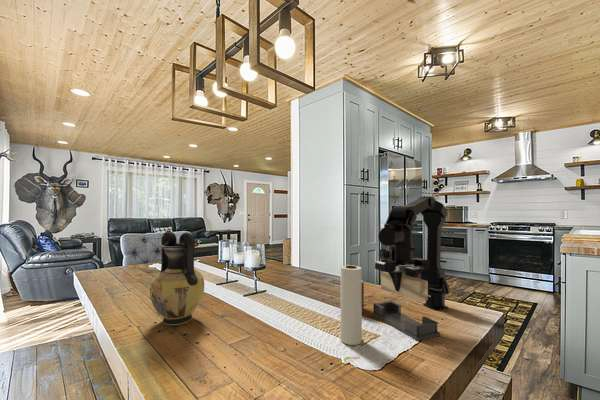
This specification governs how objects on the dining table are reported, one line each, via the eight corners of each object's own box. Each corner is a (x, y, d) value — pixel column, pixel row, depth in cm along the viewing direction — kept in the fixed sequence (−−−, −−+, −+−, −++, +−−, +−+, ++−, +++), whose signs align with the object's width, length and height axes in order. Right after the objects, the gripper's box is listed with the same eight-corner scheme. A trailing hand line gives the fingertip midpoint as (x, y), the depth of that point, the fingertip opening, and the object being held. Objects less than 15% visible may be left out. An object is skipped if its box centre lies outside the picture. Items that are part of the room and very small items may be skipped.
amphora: (136, 326, 91) (138, 232, 92) (175, 308, 107) (177, 229, 108) (179, 335, 85) (181, 234, 86) (214, 315, 101) (216, 230, 101)
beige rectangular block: (389, 287, 102) (389, 270, 102) (427, 300, 88) (427, 280, 88) (381, 288, 100) (381, 271, 100) (418, 302, 86) (418, 282, 86)
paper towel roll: (357, 348, 78) (357, 269, 78) (337, 342, 81) (337, 267, 81) (365, 337, 84) (365, 265, 84) (346, 333, 87) (347, 263, 88)
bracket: (391, 311, 106) (391, 300, 106) (440, 336, 85) (439, 322, 85) (371, 314, 103) (371, 303, 103) (416, 340, 82) (416, 327, 82)
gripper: (407, 240, 106) (407, 282, 105) (365, 241, 99) (365, 286, 98) (431, 243, 95) (431, 290, 95) (385, 245, 88) (385, 296, 88)
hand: (402, 290), depth 94 cm, fingers closed on beige rectangular block, 4 cm apart
